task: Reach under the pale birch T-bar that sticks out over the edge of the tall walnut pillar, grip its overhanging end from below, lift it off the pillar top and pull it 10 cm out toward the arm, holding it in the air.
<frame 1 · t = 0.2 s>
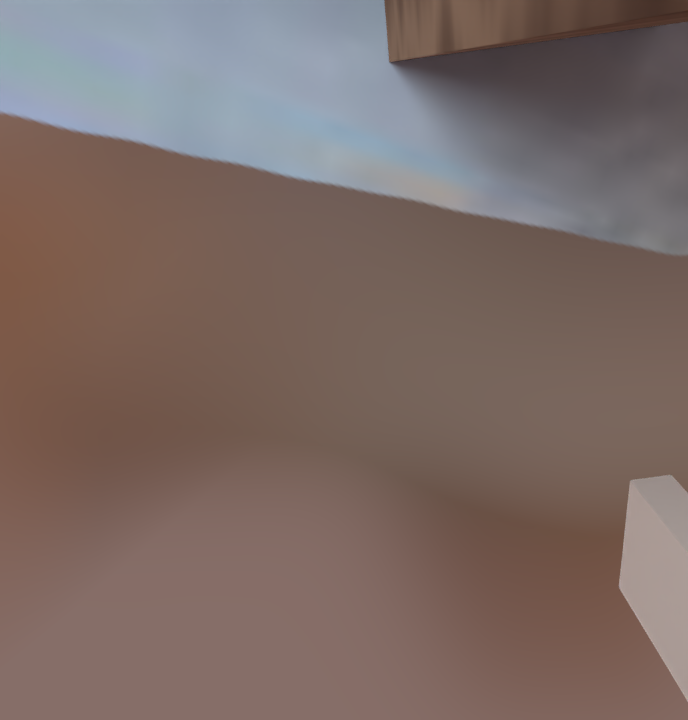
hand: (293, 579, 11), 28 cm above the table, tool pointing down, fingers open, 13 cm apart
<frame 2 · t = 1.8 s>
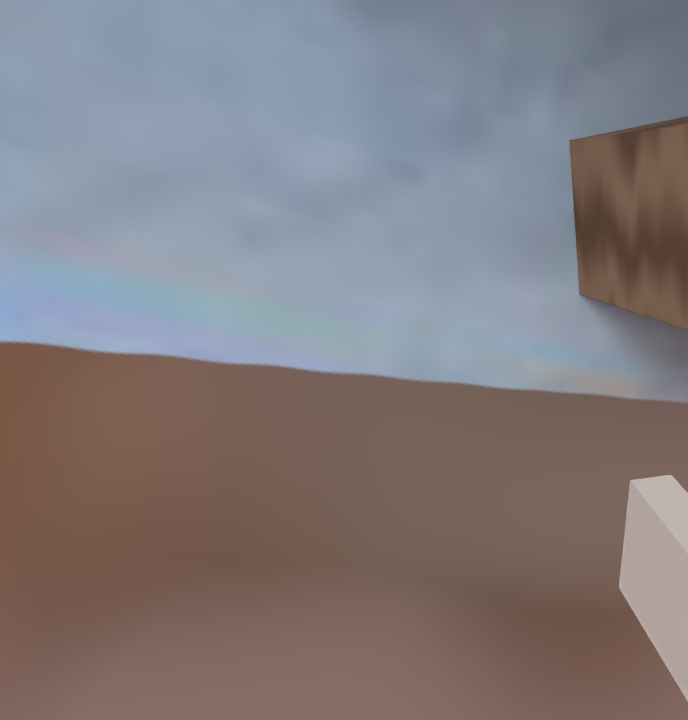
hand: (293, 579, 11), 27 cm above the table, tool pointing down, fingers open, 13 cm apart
walnut stand: (679, 197, 40), on the table
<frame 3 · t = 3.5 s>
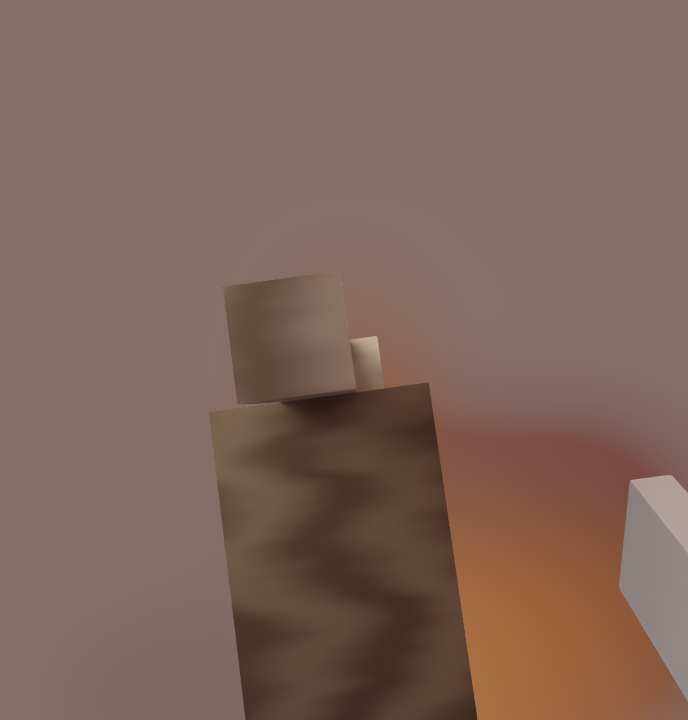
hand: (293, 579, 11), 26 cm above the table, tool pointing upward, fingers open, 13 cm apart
birch bar: (321, 397, 29), point 30 cm above the table, touching walnut stand
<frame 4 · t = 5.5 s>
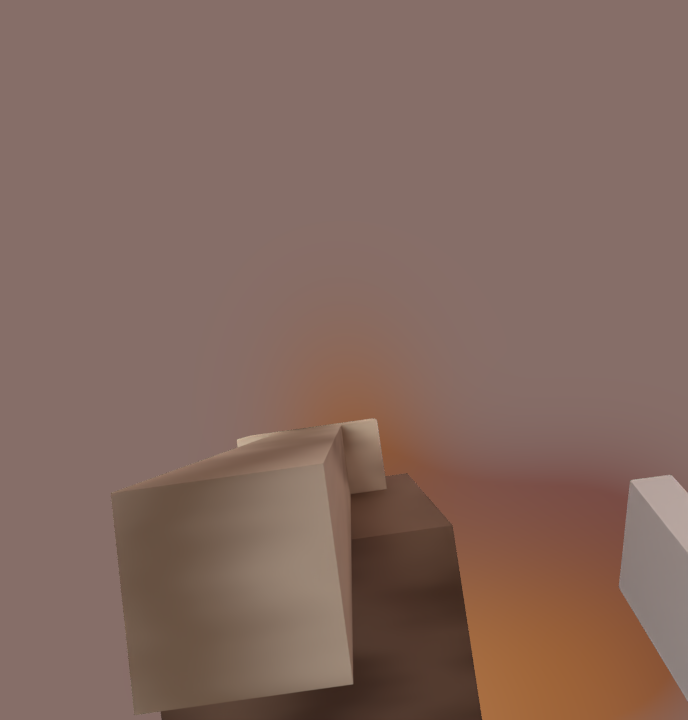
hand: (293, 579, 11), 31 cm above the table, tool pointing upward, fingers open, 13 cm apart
birch bar: (303, 533, 21), point 30 cm above the table, touching walnut stand
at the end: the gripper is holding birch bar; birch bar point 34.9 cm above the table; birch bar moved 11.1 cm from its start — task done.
